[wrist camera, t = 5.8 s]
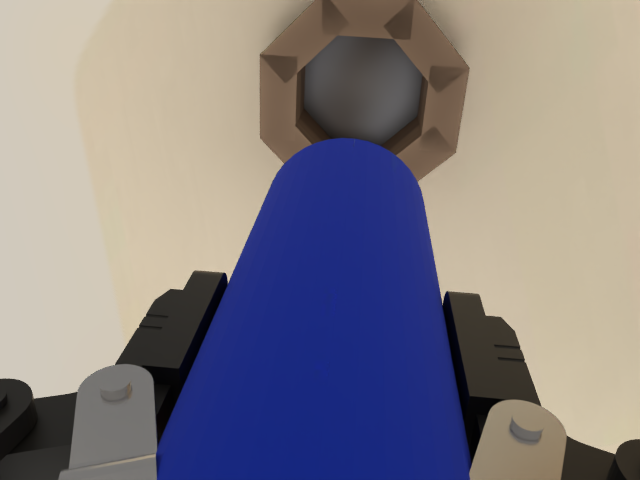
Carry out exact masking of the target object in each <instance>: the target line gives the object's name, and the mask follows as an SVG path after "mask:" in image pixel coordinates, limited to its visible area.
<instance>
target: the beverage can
mask: <svg viewBox="0 0 640 480" xmlns="http://www.w3.org/2000/svg"><path fill="white" fill-rule="evenodd" d="M156 453H157V480H470V476H469V472H470V469H471V466H472V463H471V458H470V452H469V447H468V441H467V436H466V431H465V425H464V420H463V414H462V409H461V403H460V398H459V392H458V387H457V381H456V376H455V370H454V365H453V359H452V354H451V349H450V343H449V338H448V332H447V327H446V321H445V316H444V310H443V305H442V299H441V294H440V288H439V283H438V277H437V272H436V267H435V261H434V256H433V250H432V245H431V239H430V234H429V228H428V223H427V217H426V212H425V206H424V201H423V197H422V193H421V189H420V187H419V185H418V182H417V180H416V178H415V177H414V175H413V173H412V172H411V170H410V169H409V168H408V167H407V166H406V165H405V163H404V162H403V161H402V160H401V159H399V158H398V157H397V156H396V155H394V154H393V153H392V152H390V151H389V150H387V149H385V148H383V147H381V146H379V145H377V144H374V143H371V142H369V141H364V140H359V139H353V138H336V139H328V140H324V141H320V142H317V143H314V144H312V145H310V146H307V147H305V148H303V149H302V150H300V151H299V152H297V153H296V154H294V155H293V156H292V157H291V158H290V159H289V160H288V161H287V162H285V164H284V165H283V166H282V167H281V169H280V170H279V171H278V173H277V175H276V177H275V178H274V180H273V182H272V184H271V187H270V189H269V191H268V194H267V196H266V198H265V200H264V203H263V205H262V207H261V210H260V212H259V214H258V216H257V219H256V221H255V223H254V226H253V228H252V230H251V232H250V235H249V237H248V239H247V242H246V244H245V246H244V249H243V251H242V253H241V255H240V258H239V260H238V262H237V265H236V267H235V269H234V271H233V274H232V276H231V278H230V281H229V283H228V285H227V287H226V290H225V292H224V294H223V297H222V299H221V301H220V304H219V306H218V308H217V310H216V313H215V315H214V317H213V320H212V322H211V324H210V326H209V329H208V331H207V333H206V336H205V338H204V340H203V342H202V345H201V347H200V349H199V352H198V354H197V356H196V359H195V361H194V363H193V365H192V368H191V370H190V372H189V375H188V377H187V379H186V381H185V384H184V386H183V388H182V391H181V393H180V395H179V397H178V400H177V402H176V404H175V407H174V409H173V411H172V413H171V416H170V418H169V420H168V423H167V425H166V427H165V430H164V432H163V434H162V436H161V439H160V441H159V443H158V448H157V452H156Z"/></svg>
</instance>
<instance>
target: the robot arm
mask: <svg viewBox="0 0 640 480" xmlns="http://www.w3.org/2000/svg"><path fill="white" fill-rule="evenodd" d="M227 285H228V281H227V275H226V273H220V272H208V271H194V272H193V273H192V275H191V277H190V279H189V280H188V282H187V284H186V286H185V288H184V289H183V290H177V289H170V290H169V291H167V292H166V293H164V294H163V295H161V296H160V297H159V298H157V299H156V300H155V301H154V302H153V304H152V305H151V307H150V309H149V310H148V312H147V314H146V317H144V318H143V320H142V322H141V323H140V325H139V328H137V330H136V331H135V333H134V335H133V336H132V338H131V339H130V341H129V343H128V344H127V346H126V347H125V349H124V351H123V353H122V354H121V356H120V357H119V359H118V360H117V362H116V364H115V365H113V366H109V367H105V368H103V369H100V370H98V371H96V372H94V373H93V374H91V375H90V376H89V377H87V378H86V379H85V380H84V381H83V382H82V384H81V385H80V387H79V389H78V392H75V393H71V394H65V395H58V396H50V397H44V398H36V399H34V398H33V394H32V390H31V388H30V387H29V386H28V385H27V384H26V383H24V382H22V381H20V380H16V379H0V480H157V453H156V452H157V448H158V443H159V441H160V439H161V436H162V434H163V432H164V430H165V427H166V425H167V423H168V420H169V418H170V416H171V413H172V411H173V409H174V407H175V404H176V402H177V400H178V397H179V395H180V393H181V391H182V388H183V386H184V384H185V381H186V379H187V377H188V375H189V372H190V370H191V368H192V365H193V363H194V361H195V359H196V356H197V354H198V352H199V349H200V347H201V345H202V342H203V340H204V338H205V336H206V333H207V331H208V329H209V326H210V324H211V322H212V320H213V317H214V315H215V313H216V310H217V308H218V306H219V304H220V301H221V299H222V297H223V294H224V292H225V290H226V287H227ZM443 310H444V316H445V321H446V327H447V332H448V338H449V343H450V349H451V354H452V359H453V365H454V370H455V376H456V381H457V387H458V392H459V398H460V403H461V409H462V414H463V420H464V425H465V431H466V436H467V441H468V447H469V452H470V458H471V463H472V466H471V469H470V472H469V476H470V480H640V439H635V440H629V441H626V442H624V443H623V444H621V445H620V446H619V448H618V449H617V452H616V454H612V453H609V452H606V451H603V450H600V449H597V448H594V447H591V446H588V445H585V444H583V443H580V442H578V441H576V440H574V439H572V438H570V437H568V436H567V435H566V431H565V429H564V427H563V425H562V423H561V422H560V421H559V420H558V419H557V417H556V416H554V415H553V414H552V413H551V412H549V411H548V410H546V409H545V408H543V407H541V404H540V401H539V398H538V396H537V393H536V390H535V387H534V384H533V382H532V379H531V376H530V373H529V370H528V367H527V365H526V363H525V362H524V360H525V359H524V356H523V353H522V351H521V350H520V345H519V342H518V339H517V337H516V334H515V331H514V330H513V329H512V328H511V327H510V326H509V325H508V324H507V323H506V322H505V321H504V320H503V319H502V318H501V317H495V316H485V312H484V309H483V306H482V302H481V299H480V296H479V294H473V293H461V292H448V291H447V292H446V293H445V296H444V301H443Z"/></svg>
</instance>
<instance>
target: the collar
mask: <svg viewBox="0 0 640 480" xmlns="http://www.w3.org/2000/svg"><path fill="white" fill-rule="evenodd" d="M468 74H469V67H468V65H467V64H466V63H465V61H464V60H463V59H462V57H461V56H460V55H459V54H458V52H457V51H456V50H455V49H454V47H453V46H452V45H451V43H450V42H449V41H448V39H447V38H446V37H445V36H444V34H443V33H442V32H441V30H440V29H439V28H438V27H437V25H436V24H435V23H434V21H433V20H432V19H431V17H430V16H429V15H428V14H427V12H426V11H425V10H424V8H423V7H422V6H421V5H420V3H419V2H418V1H417V0H315V1H314V2H313V3H312V4H311V5H310V6H309V7H308V8H307V9H306V10H305V11H304V12H303V13H302V14H301V15H300V16H299V17H298V18H297V19H296V20H295V21H294V22H293V23H292V24H291V25H290V26H289V27H288V28H287V29H286V30H285V31H284V32H283V33H282V34H281V35H280V36H279V37H278V38H277V39H276V40H275V41H274V42H272V43H271V44H270V45H269V46H268V47H267V48H266V49H265V50H264V51H263V52H262V53H261V54H260V138H261V139H262V141H263V142H264V143H265V144H266V145H267V146H268V147H269V148H270V149H271V150H272V151H273V152H274V153H275V154H276V155H277V156H278V157H279V158H280V160H281V161H282V162H283V163H284V164H285V162H287V161H288V160H289V159H290V158H291V157H292V156H293V155H294V154H296V153H297V152H299V151H300V150H302V149H303V148H305V147H307V146H310V145H312V144H314V143H317V142H320V141H324V140H328V139H336V138H353V139H359V140H364V141H369V142H371V143H374V144H377V145H379V146H381V147H383V148H385V149H387V150H389V151H390V152H392V153H393V154H394V155H396V156H397V157H398V158H399V159H401V160H402V161H403V162H404V163H405V165H406V166H407V167H408V168H409V169H410V170H411V172H412V173H413V175H414V177H415V178H416V180H417V182H418V181H419V180H420V179H421V178H423V177H424V176H425V175H427V174H428V173H429V172H431V171H432V170H433V169H435V168H436V167H437V166H439V165H440V164H441V163H443V162H444V161H445V160H447V159H448V158H449V157H451V156H452V155H453V154H454V153H456V148H457V142H458V135H459V129H460V123H461V117H462V111H463V105H464V99H465V92H466V86H467V80H468Z"/></svg>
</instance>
